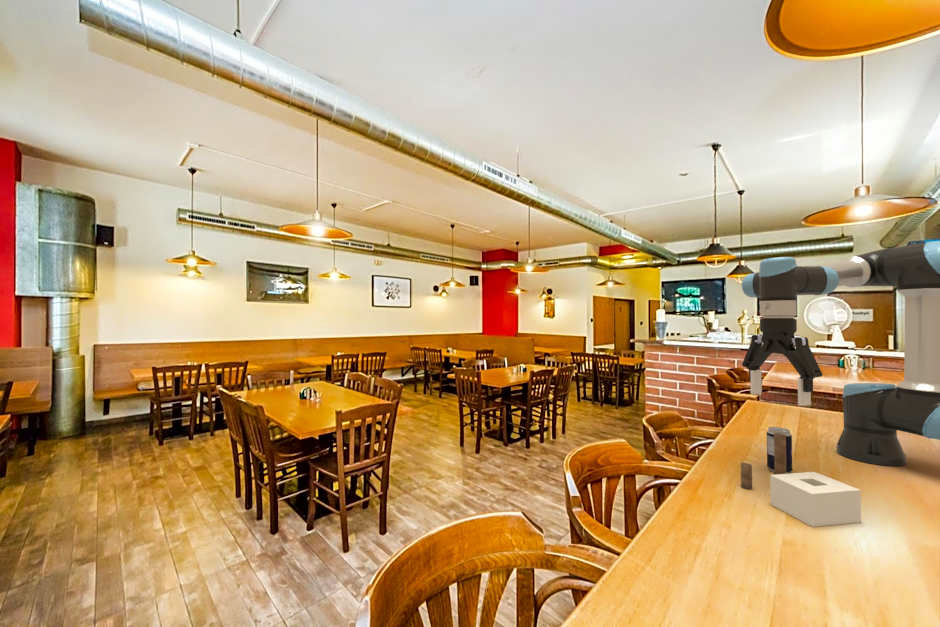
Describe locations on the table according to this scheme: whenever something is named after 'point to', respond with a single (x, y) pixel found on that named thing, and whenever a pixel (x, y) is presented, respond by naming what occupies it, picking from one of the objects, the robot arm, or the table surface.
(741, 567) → the table surface
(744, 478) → the short pin
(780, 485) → the hole block
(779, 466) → the long pin
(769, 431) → the beverage can
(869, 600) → the table surface
